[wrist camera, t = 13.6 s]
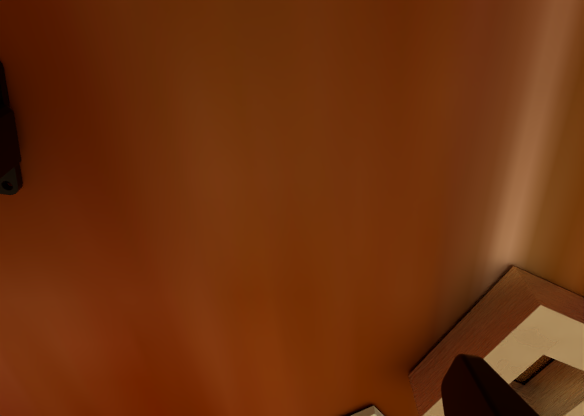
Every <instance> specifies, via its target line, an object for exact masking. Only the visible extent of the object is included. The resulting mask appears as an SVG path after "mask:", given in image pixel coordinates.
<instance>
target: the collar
mask: <svg viewBox="0 0 584 416" xmlns="http://www.w3.org/2000/svg"><path fill="white" fill-rule="evenodd" d="M458 354H470V355H477V356H480V357H481V358H483V359H484V360H485V361H486V362H487V363H488V364H489V365H490V366H491V367H492V368H493V369H494V370H495V371H496V372H497V373H498V374H499V375H500V376H501V377H502V378H503V379H504V380H505V381H506V382H507V383H508V384H509V385H510V386H511V387H512V388H513V389H514V390H515V391H516V392H517V393H518V394H519V395H520V396H521V397H522V398H523V399H524V400H525V401H526V402H527V403H528V404H529V405H530V406H531V407H532V408H533V409H534V410H535V411H536V412H537V413H538V414H539V415H540V416H584V298H583V297H581V296H579V295H576V294H574V293H572V292H570V291H568V290H565V289H563V288H561V287H559V286H557V285H554V284H552V283H550V282H548V281H546V280H543V279H541V278H539V277H537V276H535V275H532V274H530V273H528V272H526V271H524V270H521V269H519V268H517V267H515V266H513V267H512V268H511V269H510V270H509V271H508V272H507V273H506V274H505V275H504V276H503V278H502V279H501V280H500V281H499V282H498V283H497V284H496V285H495V286H494V287H493V288H492V289H491V290H490V291H489V292H488V293H487V294H486V295H485V296H484V297H483V298H482V299H481V300H480V301H479V302H478V303H477V304H476V306H475V307H474V308H473V309H472V310H471V311H470V312H469V313H468V314H467V315H466V316H465V317H464V318H463V319H462V320H461V321H460V322H459V323H458V324H457V325H456V326H455V327H454V328H453V329H452V330H451V331H450V332H449V333H448V335H447V336H446V337H445V338H444V339H443V340H442V341H441V342H440V343H439V344H438V345H437V346H436V347H435V348H434V349H433V350H432V351H431V352H430V353H429V354H428V355H427V356H426V357H425V358H424V359H423V360H422V361H421V363H420V364H419V365H418V366H417V367H416V368H415V369H414V370H413V371H412V372H411V373H410V374H409V375H408V376H409V380H410V384H411V388H412V391H413V395H414V399H415V402H416V406H417V410H418V413H419V416H444V410H443V403H442V396H441V384H442V380H443V378H444V376H445V375H446V373H447V371H448V369H449V367H450V366H451V364H452V362H453V360H454V358H455V357H456V356H457V355H458ZM542 355H545V356H548V357H550V358H553V359H555V360H554V361H553V362H551V363H550V364H549V365H548V366H547V367H546V368H544V369H543V370H542V371H541V372H540V373H538V374H537V375H536V376H535V377H534V378H532V379H531V380H530V381H529V382H528V383H526V384H525V385H523V384H520V383H517V382H515V381H513V380H514V379H516V378H517V377H518V376H519V375H520V374H521V373H522V372H524V371H525V370H526V369H527V368H528V367H529V366H531V365H532V364H533V363H534V362H535V361H536V360H538V359H539V358H540V357H541V356H542Z"/></svg>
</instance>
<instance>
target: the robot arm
mask: <svg viewBox="0 0 584 416" xmlns="http://www.w3.org/2000/svg"><path fill="white" fill-rule="evenodd" d="M20 162H21V155H20V149H19V142H18V136H17V130H16V124H15V118H14V112H13V110H12V109H11V107H10V104H9V98H8V92H7V86H6V80H5V74H4V68H3V65H2V63H1V62H0V194H6V195H13V194H16V193H17V192H18V191H19V190H20V189H21V188H22V184H23V183H22V177H21V171H20V165H19V163H20ZM6 181H8V182H10V183H11V184H12V186H10V185H8V184H7V182H6ZM441 396H442V403H443V410H444V416H540V415H539V414H538V413H537V412H536V411H535V410H534V409H533V408H532V407H531V406H530V405H529V404H528V403H527V402H526V401H525V400H524V399H523V398H522V397H521V396H520V395H519V394H518V393H517V392H516V391H515V390H514V389H513V388H512V387H511V386H510V385H509V384H508V383H507V382H506V381H505V380H504V379H503V378H502V377H501V376H500V375H499V374H498V373H497V372H496V371H495V370H494V369H493V368H492V367H491V366H490V365H489V364H488V363H487V362H486V361H485V360H484V359H483V358H481V357H480V356H477V355H470V354H458V355H457V356H456V357H455V358H454V360H453V362H452V364H451V366H450V367H449V369H448V371H447V373H446V375H445V376H444V378H443V380H442V384H441Z"/></svg>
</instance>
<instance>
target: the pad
mask: <svg viewBox="0 0 584 416" xmlns="http://www.w3.org/2000/svg"><path fill="white" fill-rule="evenodd" d="M351 416H384V415H383V414H382V413H381V412H380V411H379V410H378V409H377V408H376V407H374V406H372V407H369V408H367V409H365V410H362V411H360V412H358V413H355V414H353V415H351Z"/></svg>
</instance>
